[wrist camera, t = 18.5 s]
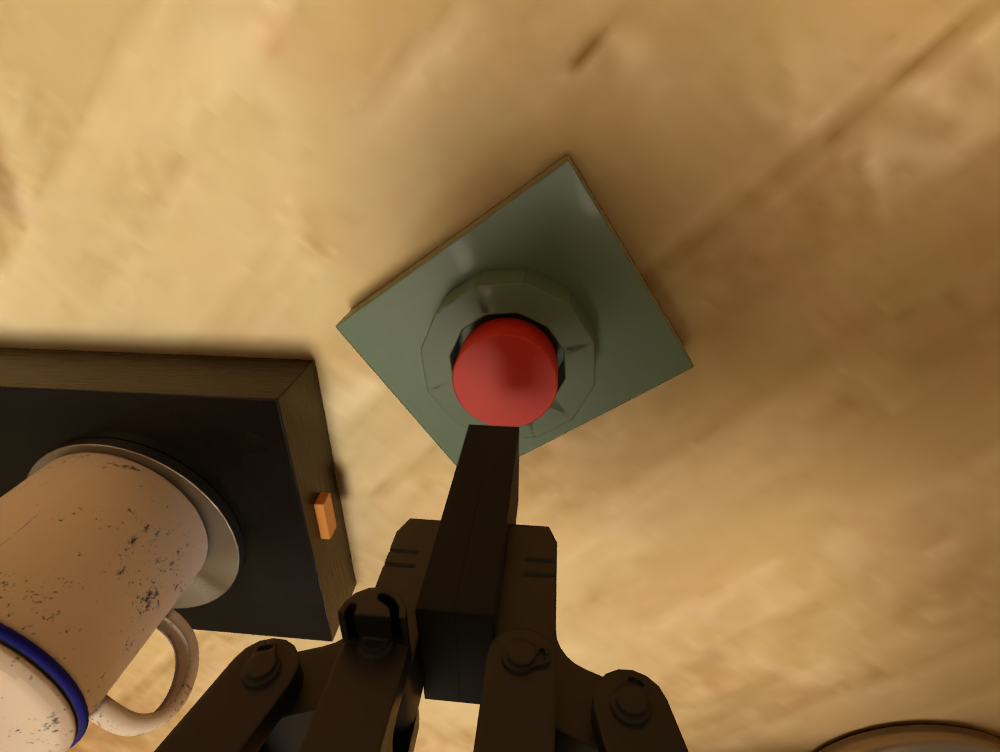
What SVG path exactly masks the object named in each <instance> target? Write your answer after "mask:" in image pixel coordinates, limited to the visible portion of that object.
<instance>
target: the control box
mask: <svg viewBox="0 0 1000 752" xmlns="http://www.w3.org/2000/svg"><path fill="white" fill-rule="evenodd" d="M504 317H505V318H517V319H521V320H525V321H527V322H530V323H532V324H533V325H535V326H537V327H538V328H540V329H541V330H542V331H543V332H544V333H545V334H546V335H547V336H548V337H549V339H550V340H551V342H552V343H553V345H554V347H555V350H556V353H557V358H558V388H557V393H556V396H555V399H554V401H553V403H552V405H551V406H550V407H549V409H548V410H547V411H546V412H545V413H544V414H543V415H542V416H541V417H539V418H538V419H536V420H535V421H533V422H531V423H528V424H526V425H522V426H518V427H519V457H520V456H522V455H524V454H525V453H527V452H529V451H531V450H533V449H535V448H537V447H539V446H541V445H543V444H545V443H547V442H549V441H551V440H553V439H555V438H557V437H559V436H561V435H562V434H564V433H566V432H568V431H570V430H572V429H574V428H576V427H578V426H580V425H582V424H584V423H586V422H588V421H590V420H592V419H594V418H596V417H597V416H599V415H601V414H603V413H605V412H607V411H609V410H611V409H613V408H615V407H617V406H619V405H621V404H623V403H625V402H627V401H629V400H631V399H632V398H634V397H636V396H638V395H640V394H642V393H644V392H646V391H648V390H650V389H652V388H654V387H656V386H658V385H660V384H662V383H664V382H666V381H667V380H669V379H671V378H673V377H675V376H677V375H679V374H681V373H683V372H685V371H687V370H689V369H691V368H693V367H694V366H693V364H692V361H691V359H690V357H689V355H688V353H687V351H686V349H685V347H684V346H683V344H682V342H681V341H680V339H679V337H678V336H677V334H676V332H675V331H674V329H673V327H672V326H671V324H670V322H669V321H668V319H667V317H666V316H665V314H664V312H663V311H662V309H661V307H660V306H659V304H658V302H657V301H656V299H655V298H654V296H653V294H652V293H651V291H650V289H649V288H648V286H647V284H646V283H645V281H644V279H643V278H642V276H641V274H640V273H639V271H638V269H637V268H636V266H635V264H634V263H633V261H632V259H631V258H630V256H629V254H628V253H627V251H626V250H625V248H624V246H623V245H622V243H621V241H620V240H619V238H618V236H617V235H616V233H615V231H614V230H613V228H612V226H611V225H610V223H609V221H608V220H607V218H606V216H605V215H604V213H603V211H602V210H601V208H600V206H599V205H598V203H597V201H596V200H595V198H594V197H593V195H592V193H591V192H590V190H589V188H588V187H587V185H586V183H585V182H584V180H583V178H582V177H581V175H580V173H579V172H578V170H577V168H576V167H575V165H574V163H573V162H572V160H571V158H570V157H569V155H566V156H565V157H563V158H562V159H561V160H559V161H558V162H556V163H555V164H554V165H552V166H551V167H549V168H548V169H547V170H545V171H544V172H542V173H541V174H540V175H538V176H537V177H535V178H534V179H533V180H531V181H530V182H529V183H527V184H526V185H524V186H523V187H522V188H520V189H519V190H517V191H516V192H515V193H513V194H512V195H510V196H509V197H508V198H506V199H505V200H504V201H502V202H501V203H499V204H498V205H497V206H495V207H494V208H492V209H491V210H490V211H488V212H487V213H485V214H484V215H483V216H481V217H480V218H479V219H477V220H476V221H474V222H473V223H472V224H470V225H469V226H467V227H466V228H465V229H463V230H462V231H460V232H459V233H458V234H456V235H455V236H453V237H452V238H451V239H449V240H448V241H447V242H445V243H444V244H442V245H441V246H440V247H438V248H437V249H435V250H434V251H433V252H431V253H430V254H428V255H427V256H426V257H424V258H423V259H422V260H420V261H419V262H417V263H416V264H415V265H413V266H412V267H410V268H409V269H408V270H406V271H405V272H403V273H402V274H401V275H399V276H398V277H397V278H395V279H394V280H392V281H391V282H390V283H388V284H387V285H385V286H384V287H383V288H381V289H380V290H378V291H377V292H376V293H374V294H373V295H371V296H370V297H369V298H367V299H366V300H365V301H363V302H362V303H360V304H359V305H358V306H356V307H355V308H353V309H352V310H351V311H350V312H349V313H348V314H347V315H346V316H345V317H344V318H343V319H342V320H341V321H340V322H339V323H338V324H337V325H336V328H337V329H338V330H339V331H340V333H341V334H342V335H343V336H344V337H345V338H346V339H347V341H348V342H349V343H350V344H351V345H352V346H353V348H354V349H355V350H356V351H357V352H358V353H359V354H360V356H361V357H362V358H363V359H364V360H365V361H366V362H367V364H368V365H369V366H370V367H371V368H372V369H373V371H374V372H375V373H376V374H377V375H378V376H379V377H380V379H381V380H382V381H383V382H384V383H385V384H386V386H387V387H388V388H389V389H390V390H391V391H392V392H393V394H394V395H395V396H396V397H397V398H398V399H399V400H400V402H401V403H402V404H403V405H404V406H405V407H406V409H407V410H408V411H409V412H410V413H411V414H412V415H413V417H414V418H415V419H416V420H417V421H418V422H419V424H420V425H421V426H422V427H423V428H424V429H425V430H426V432H427V433H428V434H429V435H430V436H431V437H432V438H433V440H434V441H435V442H436V443H437V444H438V445H439V447H440V448H441V449H442V450H443V451H444V452H445V453H446V455H447V456H448V457H449V458H450V459H451V460H452V462H453V463H454V464H455V465H456V466H457V464H458V460H459V457H460V453H461V450H462V447H463V443H464V440H465V436H466V433H467V429H468V426H469V424H472V425H489V424H486V423H484V422H482V421H480V420H478V419H476V418H475V417H473V416H472V415H471V414H469V413H468V412H467V411H466V410H465V409H464V408H463V406H462V405H461V404H460V402H459V400H458V399H457V397H456V394H455V392H454V388H453V381H452V375H453V369H454V365H455V363H456V360H457V357H458V355H459V352H460V350H461V347H462V345H463V342H464V341H465V339H466V337H467V336H468V335H469V333H470V332H471V331H472V330H473V329H475V328H476V327H477V326H479V325H480V324H482V323H484V322H486V321H489V320H492V319H496V318H504ZM491 426H492V425H491Z"/></svg>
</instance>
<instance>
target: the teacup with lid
mask: <svg viewBox="0 0 1000 752" xmlns="http://www.w3.org/2000/svg"><path fill="white" fill-rule="evenodd" d="M207 550H208V540H207V534H206V530H205V527H204V524H203V522H202V520H201V518H200V516H199V514H198V512H197V511H196V509H195V508H194V506H193V505H192V504H191V502H190V501H189V500H188V499H187V498H186V497H185V496H184V495H183V494H182V493H181V492H180V491H179V490H178V489H177V488H176V487H175V486H174V485H173V484H171V483H170V482H169V481H167V480H166V479H165V478H163V477H162V476H160V475H159V474H157V473H155V472H154V471H152V470H150V469H148V468H147V467H145V466H143V465H140V464H138V463H136V462H133V461H131V460H128V459H125V458H122V457H118V456H114V455H109V454H103V453H89V452H86V453H75V454H69V455H66V456H62V457H60V458H57V459H55V460H53V461H51V462H50V463H48V464H46V465H45V466H44V467H42V468H41V469H39V470H38V471H37V472H35V473H34V474H32V475H31V476H30V477H28V478H27V479H26V480H24V481H23V482H21V483H20V484H19V485H17V486H16V487H14V488H13V489H12V490H10V491H9V492H8V493H6V494H5V495H3V496H2V497H1V498H0V752H66V751H67V750H68V749H69V748H71V747H72V746H74V745H75V744H76V743H77V742H78V741H79V740H80V739H81V738H82V736H83V735H84V734H85V732H86V729H87V727H88V722H89V720H90V721H92V722H93V723H95V724H96V725H98V726H99V727H101V728H103V729H104V730H106V731H108V732H111V733H113V734H116V735H121V736H137V735H141V734H145V733H148V732H150V731H153V730H155V729H157V728H159V727H161V726H163V725H164V724H166V723H167V722H168V721H170V720H171V719H172V718H173V717H174V716H175V715H176V714H177V713H178V712H179V711H180V709H181V708H182V706H183V705H184V704H185V702H186V700H187V699H188V697H189V695H190V693H191V690H192V688H193V685H194V683H195V679H196V676H197V671H198V665H199V648H198V642H197V639H196V636H195V633H194V631H193V630H192V628H191V626H190V625H189V624H188V622H187V621H186V620H185V619H184V618H183V617H182V616H181V615H180V614H179V613H177V612H176V611H175V610H174V609H173V608H172V607H173V605H174V604H175V603H176V601H177V600H178V599H179V597H180V596H181V595H182V593H183V592H184V591H185V589H186V588H187V587H188V585H189V584H190V583H191V581H192V580H193V579H194V577H195V576H196V575H197V573H198V572H199V571H200V569H201V568H202V566H203V564H204V562H205V559H206V556H207ZM156 628H157V629H158V630H159V631H160V632H162V633H163V634H164V635H165V636H166V638H167V639H168V640H169V641H170V643H171V645H172V647H173V649H174V653H175V673H174V678H173V682H172V685H171V687H170V690H169V692H168V694H167V696H166V698H165V699H164V701H163V702H162V704H161V705H160V706H159V708H158V709H157V710H156V711H155V712H153V713H146V714H142V713H136V712H133V711H131V710H129V709H127V708H125V707H123V706H122V705H120V704H119V703H117V702H116V701H115V700H113V699H112V698H110V697H109V696H108V695H107V693H108V691H109V690H110V689H111V687H112V686H113V685H114V683H115V682H116V681H117V679H118V678H119V677H120V675H121V674H122V673H123V671H124V670H125V669H126V667H127V666H128V665H129V663H130V662H131V661H132V660H133V658H134V657H135V656H136V654H137V653H138V652H139V650H140V649H141V648H142V646H143V645H144V644H145V642H146V641H147V640H148V638H149V637H150V636H151V634H152V633H153V632H154V630H155V629H156Z"/></svg>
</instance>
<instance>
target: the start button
mask: <svg viewBox="0 0 1000 752" xmlns="http://www.w3.org/2000/svg"><path fill="white" fill-rule="evenodd" d="M452 381H453V388H454V392H455V394H456V397H457V399H458V400H459V402H460V404H461V405H462V406H463V408H464V409H465V410H466V411H467V412H468V413H469V414H471V415H472V416H473V417H475V418H476V419H478V420H480V421H482V422H484V423H486V424H489V425H492V426H510V427H518V426H522V425H526V424H528V423H531V422H533V421H535V420H536V419H538V418H539V417H541V416H542V415H543V414H544V413H545V412H546V411H547V410H548V409H549V407H550V406H551V405H552V403H553V401H554V399H555V396H556V393H557V388H558V358H557V353H556V350H555V347H554V345H553V343H552V342H551V340H550V339H549V337H548V336H547V335H546V334H545V333H544V332H543V331H542V330H541V329H540V328H538V327H537V326H535V325H533V324H532V323H530V322H527V321H525V320H521V319H517V318H505V317H504V318H496V319H492V320H489V321H486V322H484V323H482V324H480V325H479V326H477V327H476V328H475V329H473V330H472V331H471V332H470V333H469V335H468V336H467V337H466V339H465V341H464V342H463V345H462V347H461V350H460V352H459V355H458V357H457V360H456V363H455V365H454V369H453V375H452Z"/></svg>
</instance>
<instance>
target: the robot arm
mask: <svg viewBox="0 0 1000 752" xmlns="http://www.w3.org/2000/svg"><path fill="white" fill-rule="evenodd" d="M518 486H519V427H510V426H491V425H472V424H469V426H468V429H467V433H466V436H465V440H464V443H463V447H462V450H461V453H460V457H459V460H458V464H457V467H456V471H455V474H454V477H453V481H452V484H451V488H450V491H449V495H448V498H447V501H446V505H445V508H444V512H443V515H442V519H441V521H439V520H425V519H409V520H408V521H407V522H406V523H405V524H404V525H403V526H402V527H401V528H400V529H399V530H398V531H397V532H396V535H395V537H394V540H393V543H392V545H391V548H390V552H389V553H388V556H387V558H386V561H385V566H383V568H382V571H381V574H380V576H379V579H378V581H377V584H376V587H375V588H368V589H365V590H362V591H360V592H357V593H355V594H354V595H352V596H351V597H350V598H349V599H347V600H346V601H345V602H344V603H343V605H342V606H341V608H340V609H339V610H338V612H337V613H338V618H339V623H340V628H341V633H342V638H343V639H341V640H339V641H337V642H336V643H333V644H330V645H326V646H323V647H318V648H313V649H309V650H304V651H299V652H297V650H296V648H295V646H294V645H293V644H291V643H290V642H288V641H287V640H283V639H275V638H272V639H267V640H263V641H259V642H257V643H255V644H253V645H251V646H249V647H247V648H246V649H244V650H243V651H242V652H241V653H240V654H239V655H238V656H237V657H235V658H234V659H233V661H232V662H231V663H230V664H229V665H228V666H227V668H226V669H225V670H224V671H223V672H222V673H221V675H220V676H219V677H218V678H217V679H216V680H215V681H214V683H213V684H212V685H211V686H210V687H209V688H208V690H207V691H206V692H205V693H204V694H203V695H202V697H201V698H200V699H199V700H198V701H197V702H196V704H195V705H194V706H193V707H192V708H191V709H190V711H189V712H188V713H187V714H186V715H185V716H184V717H183V719H182V720H181V721H180V722H179V723H178V724H177V726H176V727H175V728H174V729H173V730H172V731H171V733H170V734H169V735H168V736H167V737H166V738H165V740H164V741H163V742H162V743H161V744H160V745H159V746H158V748H157V749H156V750H155V751H154V752H413V751H414V747H415V742H416V738H417V734H418V729H419V710H418V706H419V702H420V698H421V694H422V690H423V686H424V695H425V699H433V700H443V701H453V702H463V703H473V704H480V709H479V716H478V723H477V730H476V737H475V744H474V751H473V752H688V749H687V747H686V744H685V742H684V740H683V737H682V735H681V732H680V730H679V727H678V725H677V723H676V720H675V718H674V715H673V713H672V711H671V708H670V706H669V703H668V701H667V699H666V697H665V696H664V694H663V692H662V691H661V689H660V688H659V686H658V685H657V684H655V683H654V682H653V681H652V680H651V679H650V678H648V677H647V676H645V675H643V674H641V673H638V672H636V671H633V670H620V669H618V670H615V671H612V672H610V673H607V674H605V675H604V676H603V677H602V676H600V675H597V674H595V673H593V672H590V671H588V670H586V669H584V668H582V667H580V666H578V665H576V664H575V663H574V662H572V661H571V660H570V659H569V658H568V657H567V656H566V655H565V653H564V652H563V651H562V649H561V648H560V645H559V643H558V641H557V636H556V574H557V542H556V540H555V538H554V536H553V534H552V532H551V530H550V528H549V527H544V526H529V525H516V516H517V507H518ZM819 752H1000V738H997V737H995V736H993V735H990V734H987V733H984V732H980V731H976V730H972V729H967V728H961V727H955V726H946V725H905V726H895V727H888V728H882V729H876V730H872V731H867V732H864V733H860V734H857V735H853V736H850V737H848V738H845V739H842V740H840V741H837V742H835V743H833V744H831V745H829V746H827V747H825V748H823V749H822V750H820V751H819Z"/></svg>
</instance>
